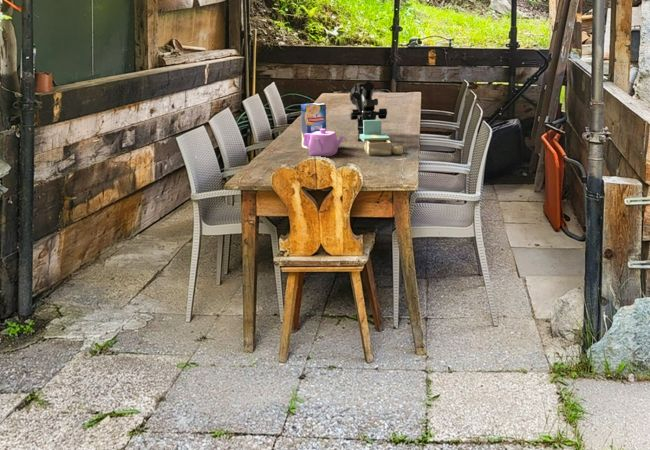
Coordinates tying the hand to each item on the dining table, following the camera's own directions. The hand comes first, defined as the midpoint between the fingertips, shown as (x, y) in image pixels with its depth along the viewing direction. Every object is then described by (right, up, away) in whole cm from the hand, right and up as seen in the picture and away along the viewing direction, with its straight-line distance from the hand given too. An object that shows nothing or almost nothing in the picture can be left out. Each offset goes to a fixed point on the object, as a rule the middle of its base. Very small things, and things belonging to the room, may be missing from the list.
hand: (370, 127), depth 435 cm
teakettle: (-24, -15, -17) cm, 33 cm away
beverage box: (-29, -10, +4) cm, 31 cm away
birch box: (+3, -15, -17) cm, 23 cm away
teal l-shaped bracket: (+1, -7, -10) cm, 12 cm away
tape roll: (+12, -15, -18) cm, 27 cm away
